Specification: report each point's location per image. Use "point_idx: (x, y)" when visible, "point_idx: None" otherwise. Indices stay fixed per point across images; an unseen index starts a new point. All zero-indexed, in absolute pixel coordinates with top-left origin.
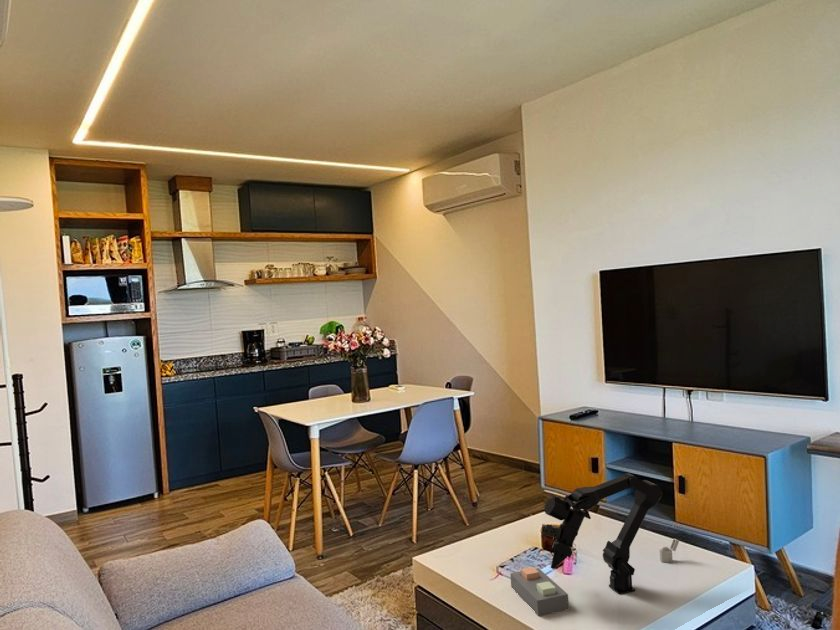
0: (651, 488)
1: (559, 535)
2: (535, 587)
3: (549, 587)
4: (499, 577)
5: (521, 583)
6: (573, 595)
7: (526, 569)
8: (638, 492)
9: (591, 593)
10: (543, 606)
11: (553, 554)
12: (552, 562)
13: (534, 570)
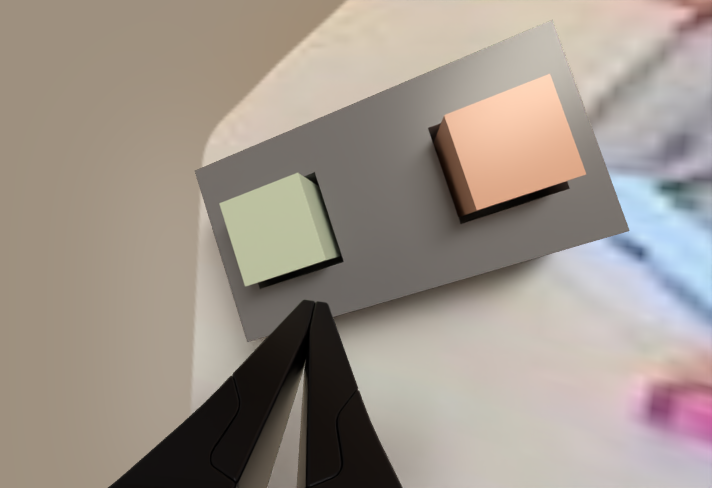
0: None
1: None
2: (333, 175)
3: (244, 248)
4: (646, 13)
5: (392, 94)
6: (400, 367)
7: (536, 118)
8: None
9: (413, 452)
10: None
11: (360, 426)
12: (270, 338)
13: (509, 179)
